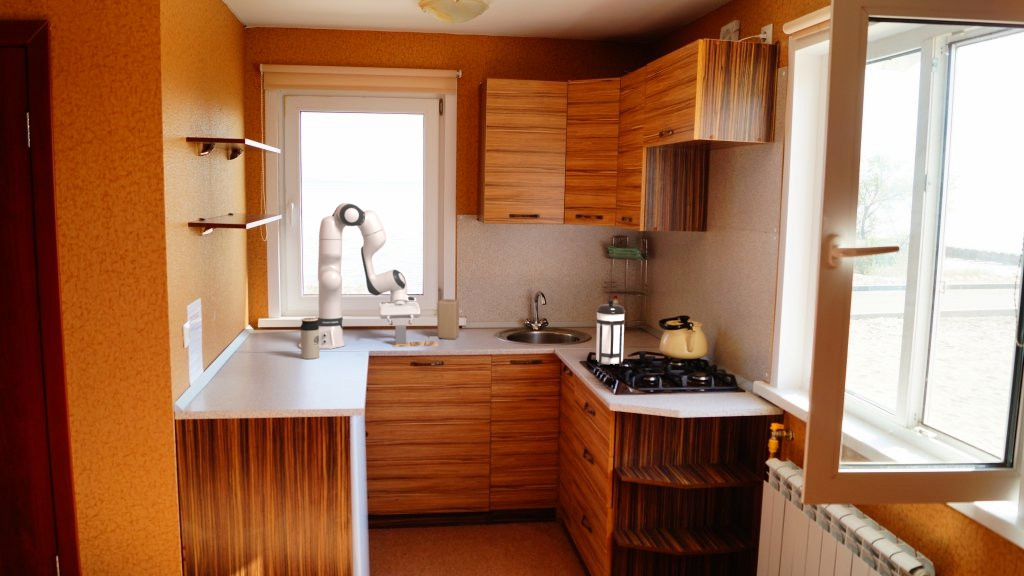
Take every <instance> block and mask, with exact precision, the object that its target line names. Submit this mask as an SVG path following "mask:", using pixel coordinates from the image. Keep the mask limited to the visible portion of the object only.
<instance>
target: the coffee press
mask: <svg viewBox="0 0 1024 576" xmlns="http://www.w3.org/2000/svg"><path fill="white" fill-rule="evenodd" d="M614 302H615V301H614V299H613V298H610V299H608V303H603V304H600V305H599V306H598V307H597V309H595V312H596V319H595V320H596V321H595V322H596V341H595V343H596V345H595V351H596V352H595V361H596V360H597V362H598V363H596V366H597V365H598V366H600V365H602V366H603V365H610V364H613V365H615V364H619V365H620V366H621V365H623V366H624V364H623V361H624V339H625V338H624V337H625V336H624V333H625V323H626V322H625V321H626V320H625V314H626V310H625V308H624V306H622V305H620V304H616V303H614Z"/></svg>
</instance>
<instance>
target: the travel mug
mask: <svg viewBox="0 0 1024 576" xmlns="http://www.w3.org/2000/svg"><path fill="white" fill-rule="evenodd" d="M300 320H301V325H300V343H301V348H300V349H301V350H300V352H301V353H300V354H301V355H300V357H301V358H302V359H304V360H315V359H318V358H319V357H320V349H319V325H318V324H317V320H318V318H315V317H303V318H301V319H300Z"/></svg>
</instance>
